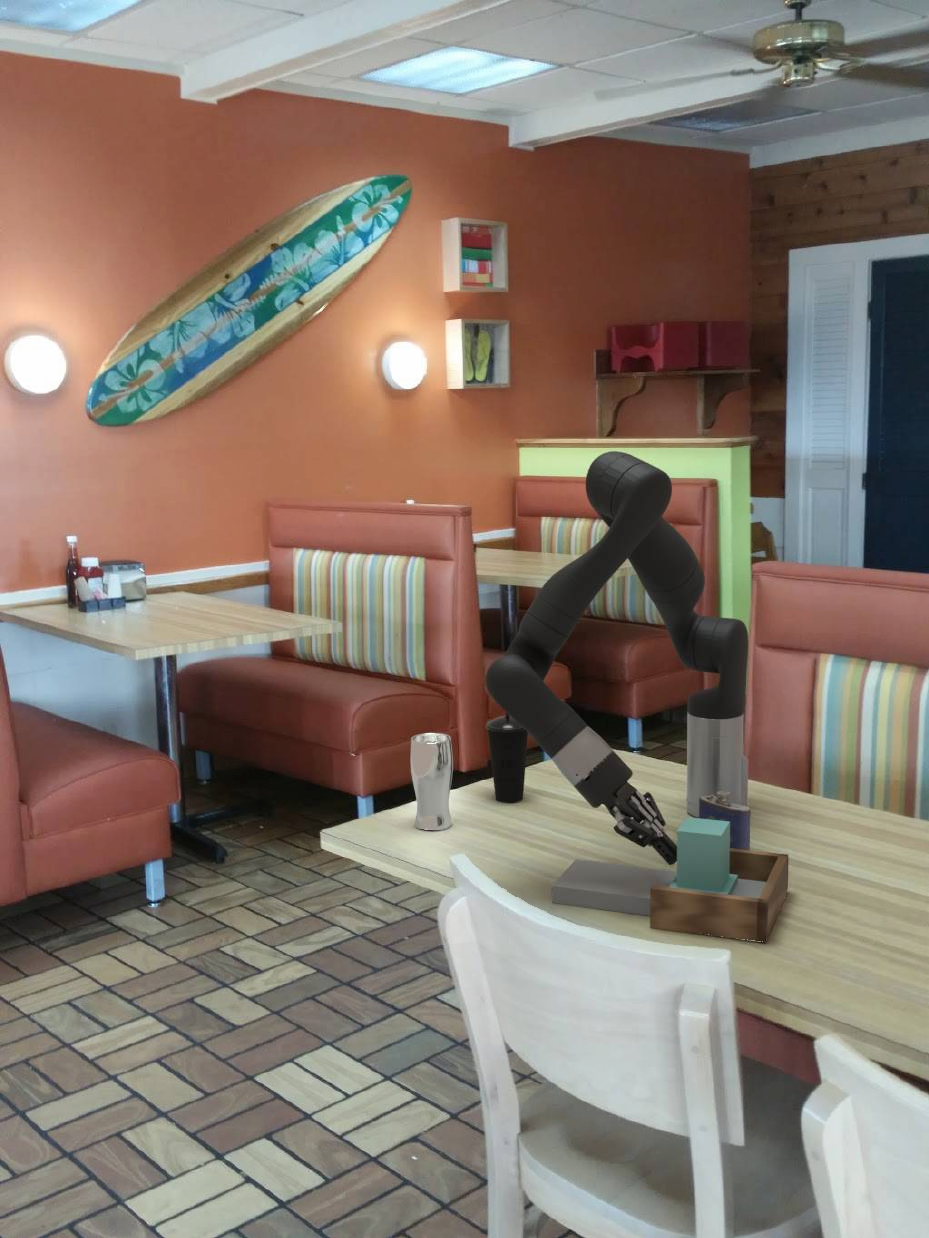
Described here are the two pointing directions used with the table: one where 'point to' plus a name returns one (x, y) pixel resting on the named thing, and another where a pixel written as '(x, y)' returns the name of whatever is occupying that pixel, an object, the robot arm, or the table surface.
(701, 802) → the flask
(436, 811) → the beer glass
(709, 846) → the teal block
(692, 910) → the box
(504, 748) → the drinking cup
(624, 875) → the board
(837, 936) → the table surface
